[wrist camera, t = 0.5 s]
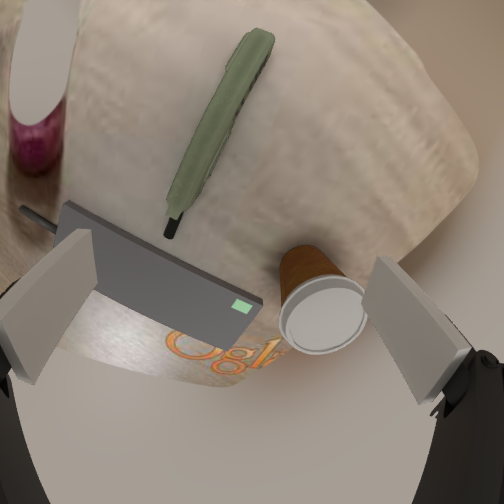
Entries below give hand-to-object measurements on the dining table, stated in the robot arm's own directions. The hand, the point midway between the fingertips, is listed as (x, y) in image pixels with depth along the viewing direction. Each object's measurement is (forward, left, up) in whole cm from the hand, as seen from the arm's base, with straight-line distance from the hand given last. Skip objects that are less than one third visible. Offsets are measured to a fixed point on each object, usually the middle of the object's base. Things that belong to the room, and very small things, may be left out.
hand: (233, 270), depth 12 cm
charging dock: (-8, -17, -22) cm, 29 cm away
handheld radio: (-4, +3, -22) cm, 23 cm away
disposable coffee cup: (+14, -5, -22) cm, 26 cm away
